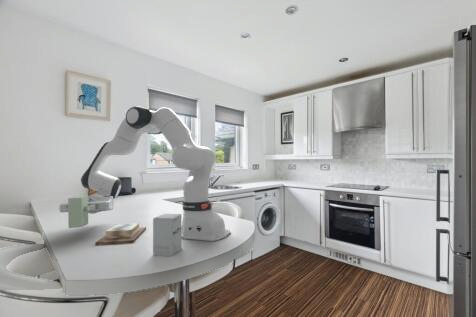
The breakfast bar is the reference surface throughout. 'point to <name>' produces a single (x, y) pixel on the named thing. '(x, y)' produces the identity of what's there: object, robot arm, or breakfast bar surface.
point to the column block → (77, 211)
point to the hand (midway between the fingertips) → (77, 209)
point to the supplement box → (167, 234)
